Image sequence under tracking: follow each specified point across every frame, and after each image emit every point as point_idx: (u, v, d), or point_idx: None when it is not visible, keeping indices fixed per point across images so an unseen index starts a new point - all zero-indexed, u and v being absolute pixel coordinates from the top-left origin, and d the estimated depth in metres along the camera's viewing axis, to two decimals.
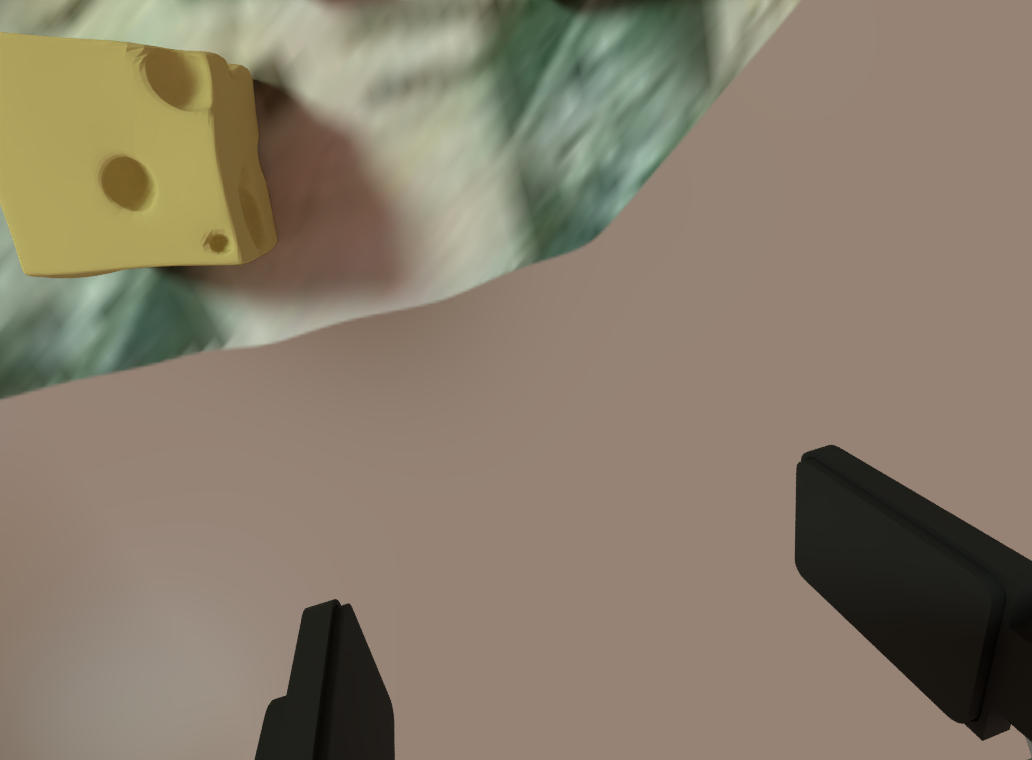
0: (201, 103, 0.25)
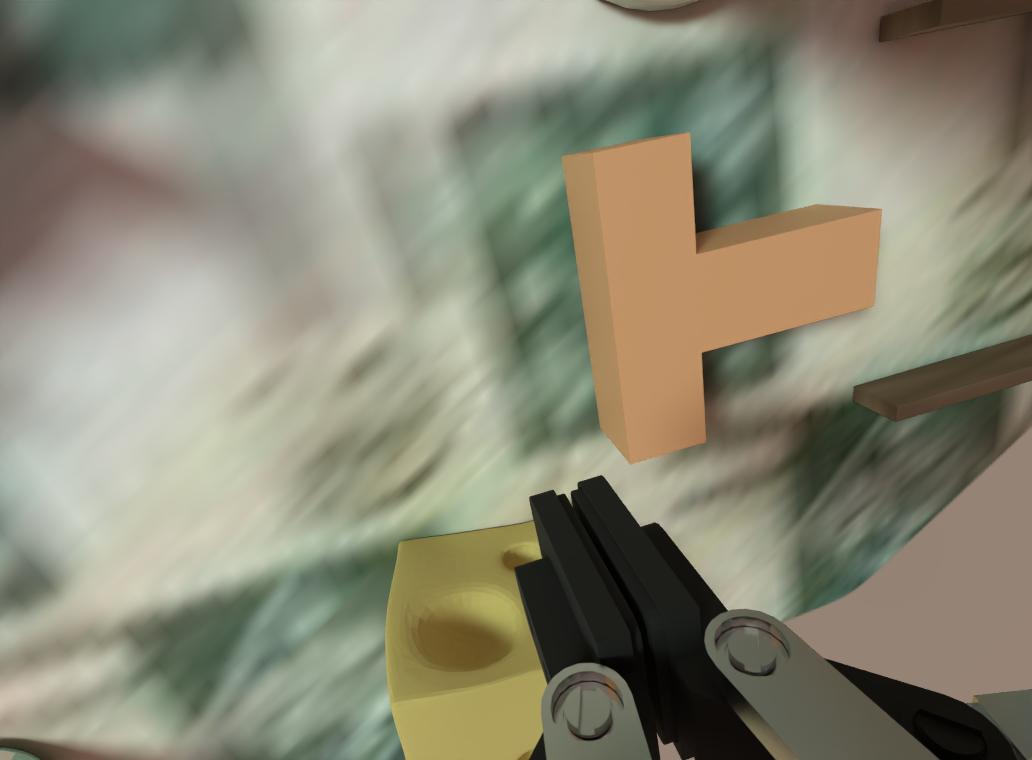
0: None
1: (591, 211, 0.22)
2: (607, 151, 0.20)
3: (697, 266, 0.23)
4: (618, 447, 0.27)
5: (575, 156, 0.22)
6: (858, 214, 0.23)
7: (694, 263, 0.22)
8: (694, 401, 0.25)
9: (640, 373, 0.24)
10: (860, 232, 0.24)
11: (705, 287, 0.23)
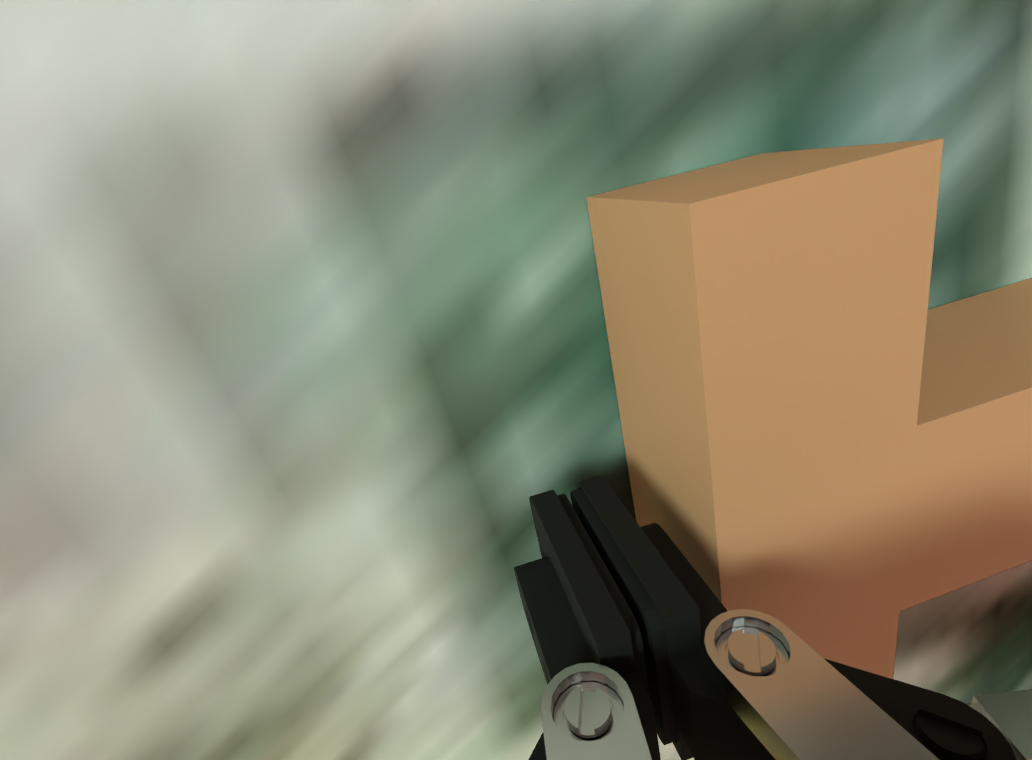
0: None
1: (672, 340, 0.09)
2: (728, 198, 0.07)
3: (914, 451, 0.10)
4: None
5: (626, 203, 0.09)
6: None
7: (909, 445, 0.10)
8: None
9: None
10: None
11: (925, 490, 0.10)
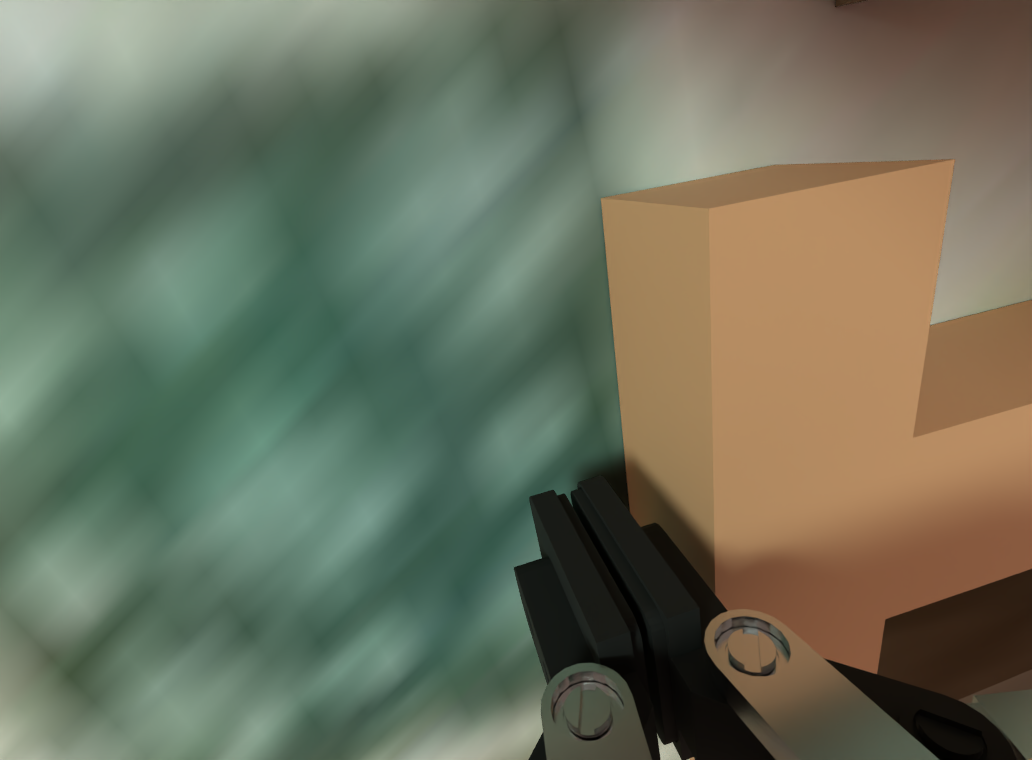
0: None
1: (681, 341, 0.09)
2: (746, 205, 0.07)
3: (909, 462, 0.10)
4: None
5: (642, 206, 0.09)
6: None
7: (905, 456, 0.10)
8: None
9: None
10: None
11: (917, 500, 0.10)
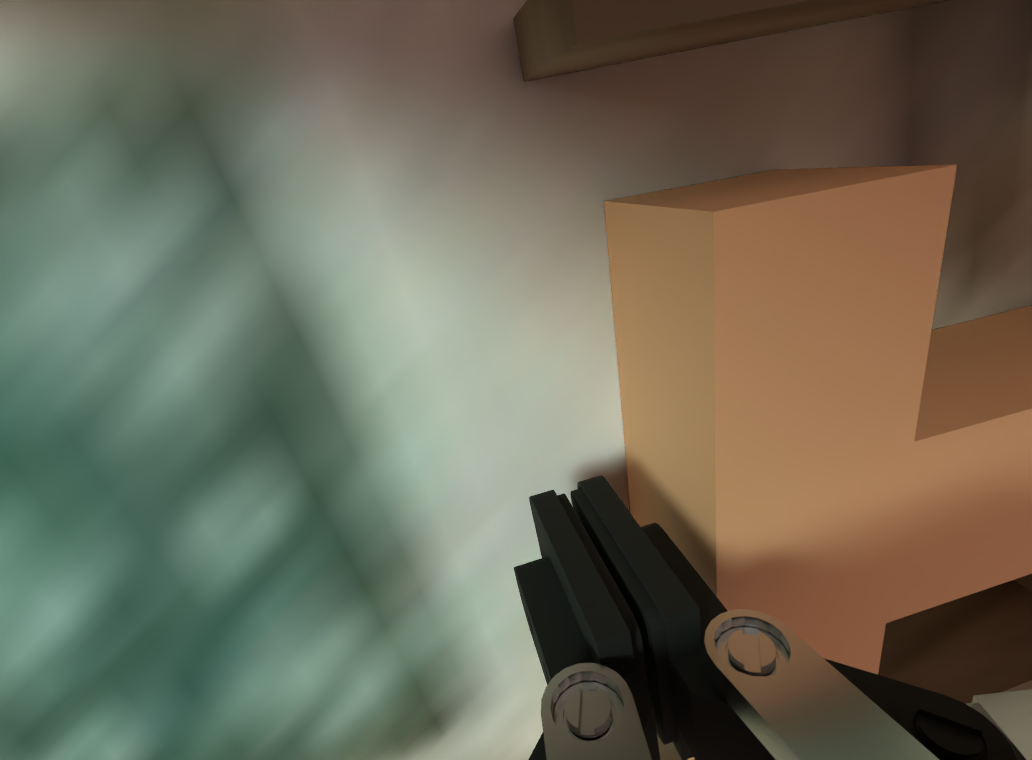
0: None
1: (684, 343, 0.09)
2: (750, 208, 0.07)
3: (909, 466, 0.10)
4: None
5: (646, 209, 0.09)
6: None
7: (906, 460, 0.10)
8: None
9: None
10: None
11: (918, 504, 0.10)
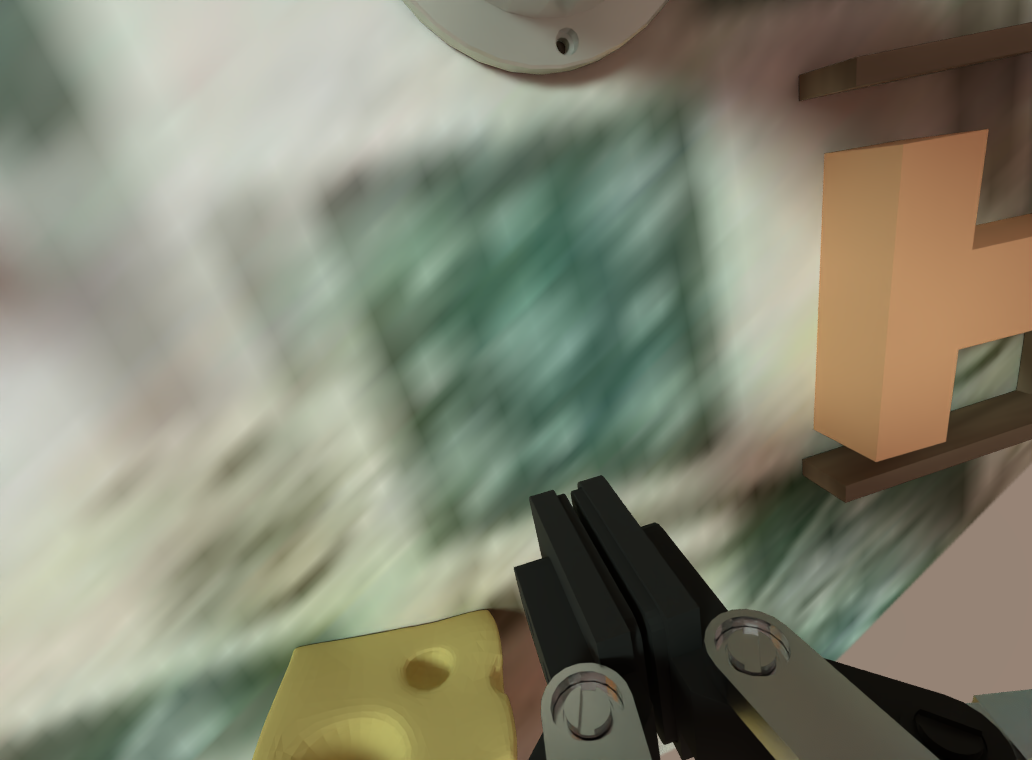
0: None
1: (878, 204, 0.22)
2: (915, 143, 0.20)
3: (970, 262, 0.23)
4: (852, 446, 0.26)
5: (859, 151, 0.22)
6: None
7: (968, 258, 0.23)
8: (943, 399, 0.25)
9: (902, 368, 0.24)
10: None
11: (973, 283, 0.23)
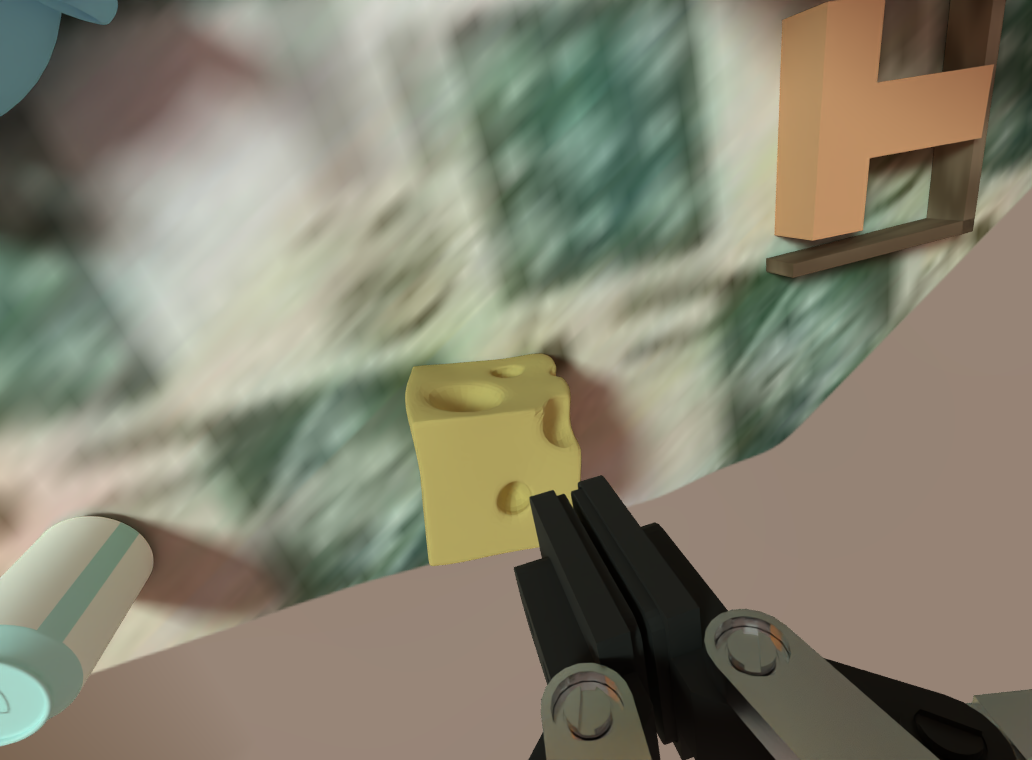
0: (563, 431, 0.33)
1: (814, 48, 0.33)
2: (836, 1, 0.32)
3: (876, 91, 0.34)
4: (798, 236, 0.38)
5: (803, 12, 0.33)
6: None
7: (875, 89, 0.34)
8: (859, 196, 0.36)
9: (830, 168, 0.35)
10: (978, 80, 0.35)
11: (879, 108, 0.34)
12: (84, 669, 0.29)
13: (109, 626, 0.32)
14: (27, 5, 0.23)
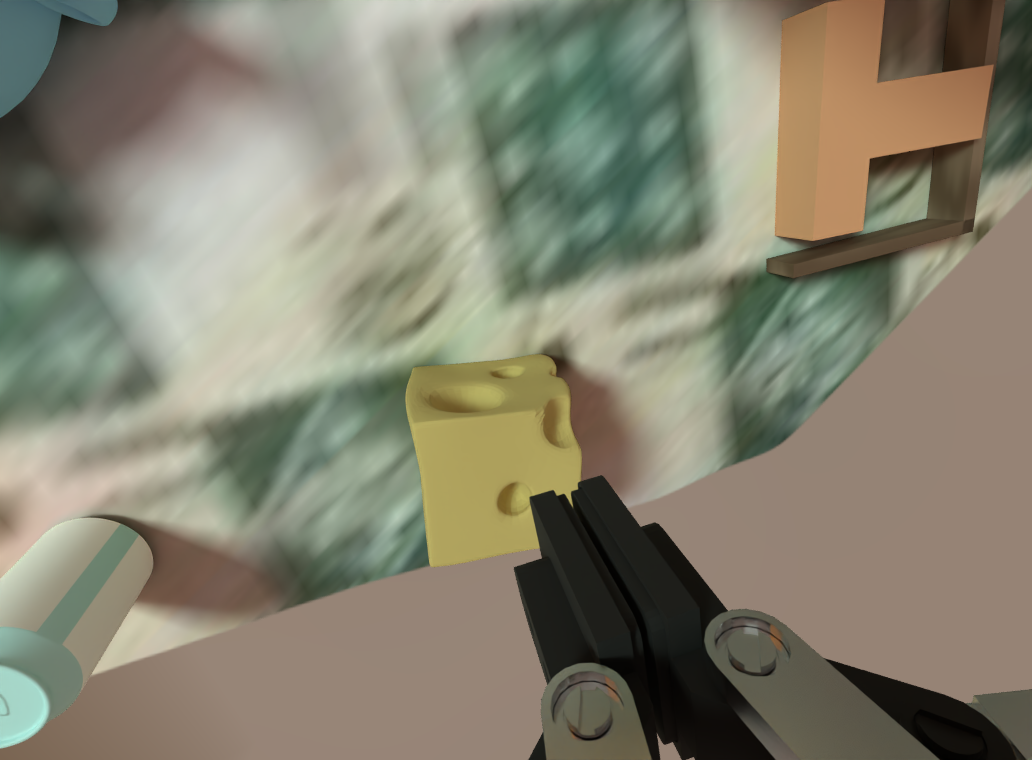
0: (564, 431, 0.33)
1: (814, 48, 0.33)
2: (836, 2, 0.32)
3: (876, 92, 0.34)
4: (798, 236, 0.38)
5: (802, 13, 0.33)
6: (978, 67, 0.35)
7: (875, 89, 0.34)
8: (860, 196, 0.36)
9: (830, 168, 0.35)
10: (978, 80, 0.35)
11: (879, 108, 0.34)
12: (84, 671, 0.29)
13: (109, 628, 0.32)
14: (27, 6, 0.23)
